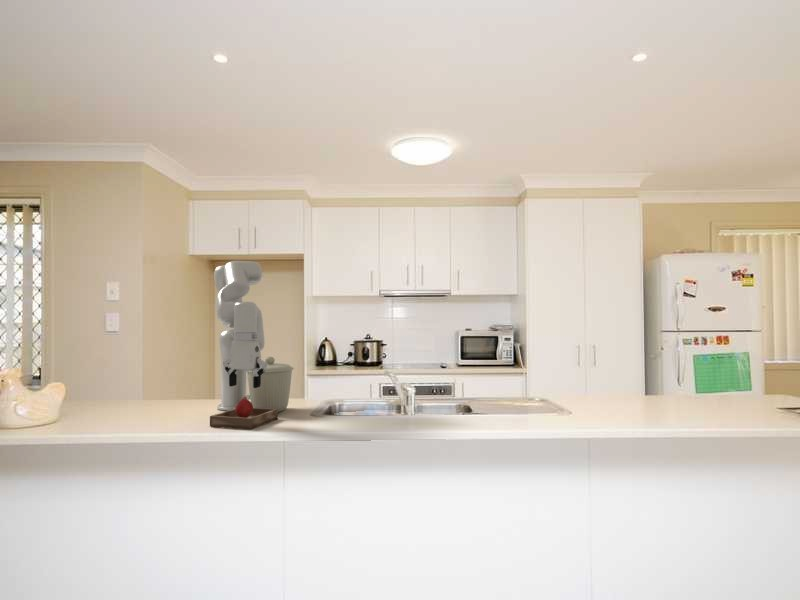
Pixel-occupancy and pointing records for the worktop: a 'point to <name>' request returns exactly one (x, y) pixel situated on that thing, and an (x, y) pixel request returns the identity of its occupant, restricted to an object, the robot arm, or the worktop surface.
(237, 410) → the onion
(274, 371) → the canister
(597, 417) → the worktop surface
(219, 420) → the walnut tray
